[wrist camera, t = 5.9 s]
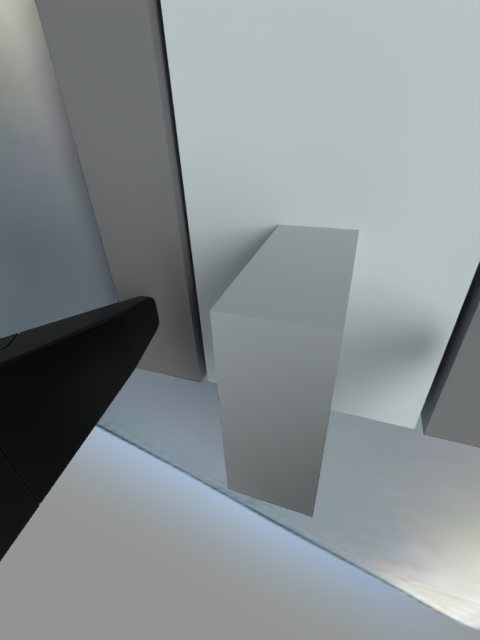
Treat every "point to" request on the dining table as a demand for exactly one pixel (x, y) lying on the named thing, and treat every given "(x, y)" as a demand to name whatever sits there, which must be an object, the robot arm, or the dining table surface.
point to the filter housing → (180, 194)
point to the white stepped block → (324, 213)
